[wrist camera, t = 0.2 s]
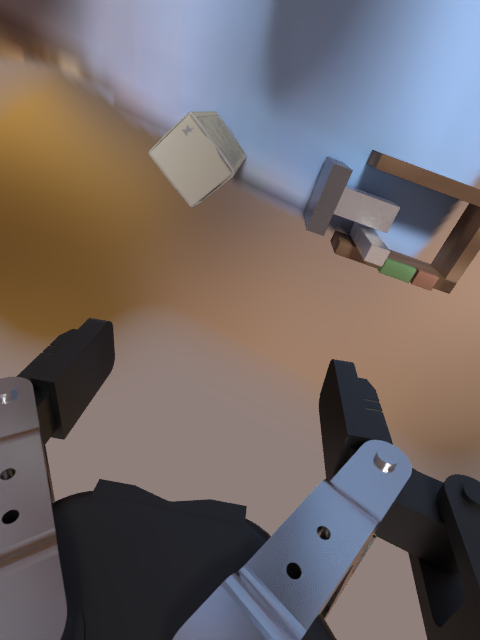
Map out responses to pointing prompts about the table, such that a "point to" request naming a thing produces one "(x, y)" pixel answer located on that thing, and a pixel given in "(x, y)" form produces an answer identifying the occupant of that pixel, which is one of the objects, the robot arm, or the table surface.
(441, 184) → the brown wooden open box
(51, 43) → the table surface
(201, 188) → the box
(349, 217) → the grey blocky piece
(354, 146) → the table surface
